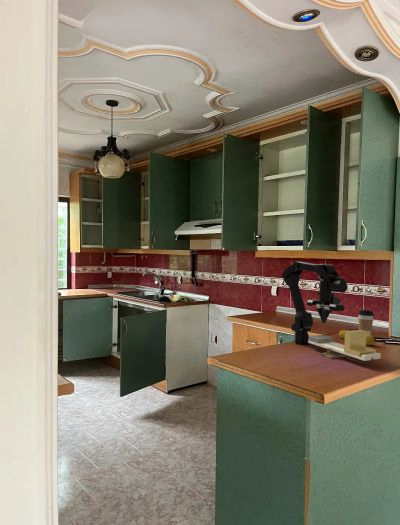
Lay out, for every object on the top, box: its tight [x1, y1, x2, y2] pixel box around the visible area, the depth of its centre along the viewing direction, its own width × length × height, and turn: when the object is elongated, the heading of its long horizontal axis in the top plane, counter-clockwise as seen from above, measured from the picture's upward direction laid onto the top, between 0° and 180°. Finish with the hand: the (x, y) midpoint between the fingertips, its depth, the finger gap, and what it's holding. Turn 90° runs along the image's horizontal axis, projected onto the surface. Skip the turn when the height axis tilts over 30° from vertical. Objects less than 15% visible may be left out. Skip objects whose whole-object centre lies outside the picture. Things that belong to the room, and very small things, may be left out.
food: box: [338, 329, 375, 346], centre depth 204 cm, size 21×6×6 cm, turn 30°
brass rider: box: [343, 329, 377, 357], centre depth 164 cm, size 8×10×10 cm
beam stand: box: [320, 348, 349, 360], centre depth 174 cm, size 6×16×4 cm, turn 118°
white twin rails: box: [308, 334, 382, 362], centre depth 173 cm, size 32×10×3 cm, turn 28°
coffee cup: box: [357, 309, 375, 336], centre depth 219 cm, size 8×8×15 cm
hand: (324, 323), depth 182 cm, fingers closed
